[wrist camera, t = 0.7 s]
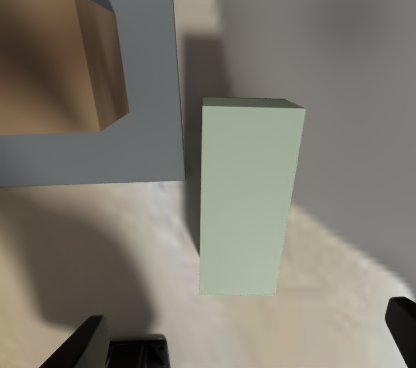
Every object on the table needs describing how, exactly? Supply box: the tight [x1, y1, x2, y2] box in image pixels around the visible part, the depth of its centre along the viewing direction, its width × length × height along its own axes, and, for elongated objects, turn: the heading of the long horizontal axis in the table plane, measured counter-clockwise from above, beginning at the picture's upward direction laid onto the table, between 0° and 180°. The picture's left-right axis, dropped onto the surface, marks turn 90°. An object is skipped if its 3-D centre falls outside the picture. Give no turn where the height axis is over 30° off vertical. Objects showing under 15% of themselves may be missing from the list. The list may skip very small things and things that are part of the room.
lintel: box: [199, 97, 306, 295], centre depth 17 cm, size 5×12×4 cm, turn 179°
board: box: [0, 0, 186, 187], centre depth 15 cm, size 14×18×1 cm
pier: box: [0, 0, 129, 135], centre depth 13 cm, size 5×5×5 cm
